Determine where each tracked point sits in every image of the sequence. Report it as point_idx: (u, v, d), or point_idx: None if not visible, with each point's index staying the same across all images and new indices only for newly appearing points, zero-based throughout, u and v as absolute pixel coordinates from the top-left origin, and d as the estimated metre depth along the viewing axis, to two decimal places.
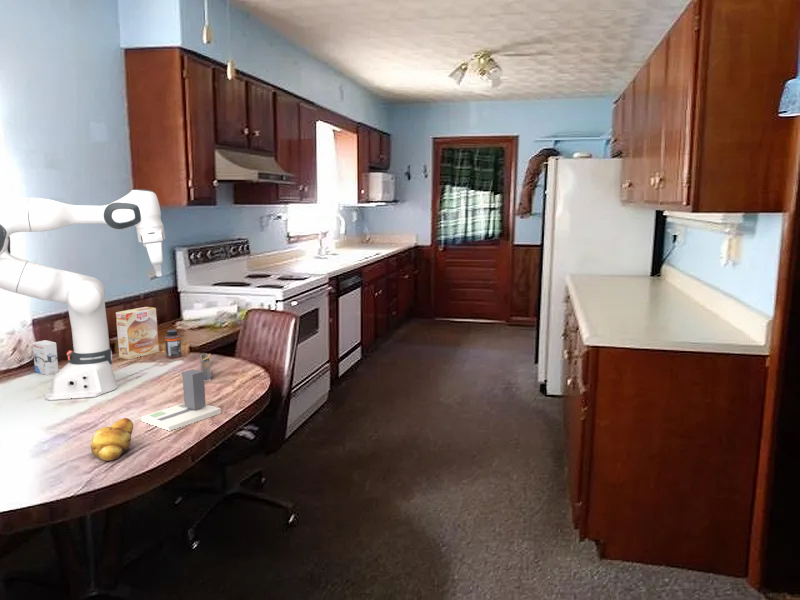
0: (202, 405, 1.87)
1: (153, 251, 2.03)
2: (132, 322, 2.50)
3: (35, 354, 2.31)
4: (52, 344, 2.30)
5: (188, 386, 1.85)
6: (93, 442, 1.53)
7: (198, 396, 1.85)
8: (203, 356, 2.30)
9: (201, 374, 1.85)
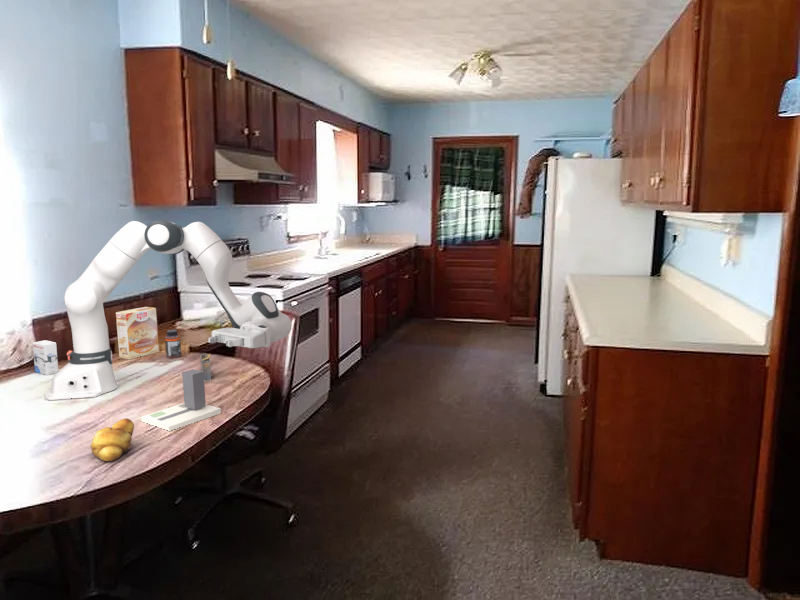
0: (202, 405, 1.87)
1: (261, 339, 1.94)
2: (132, 322, 2.50)
3: (35, 354, 2.31)
4: (52, 344, 2.30)
5: (188, 386, 1.85)
6: (93, 442, 1.53)
7: (198, 396, 1.85)
8: (203, 356, 2.30)
9: (201, 374, 1.85)
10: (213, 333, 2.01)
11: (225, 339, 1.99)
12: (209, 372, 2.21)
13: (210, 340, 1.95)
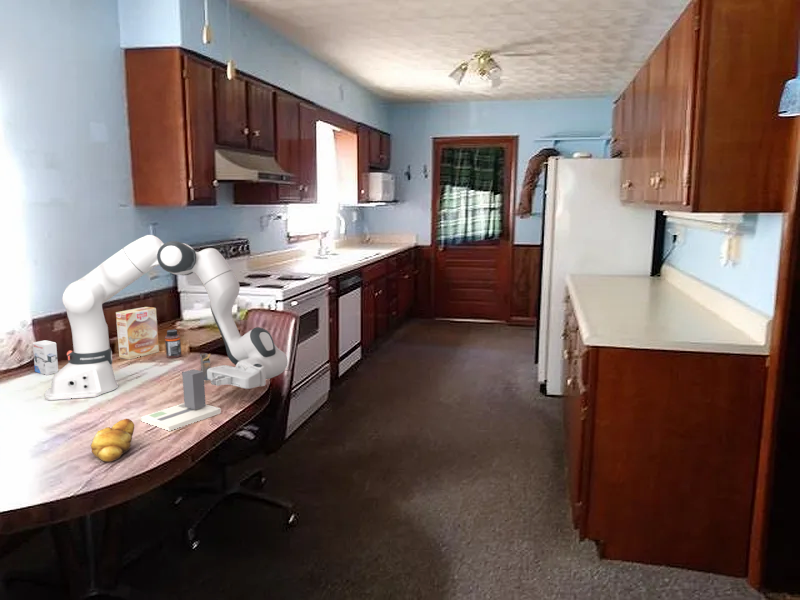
0: (202, 405, 1.87)
1: (256, 379, 1.94)
2: (132, 322, 2.50)
3: (35, 354, 2.31)
4: (52, 344, 2.30)
5: (188, 386, 1.85)
6: (93, 443, 1.53)
7: (198, 396, 1.85)
8: (203, 356, 2.30)
9: (201, 374, 1.85)
10: (208, 372, 2.01)
11: None
12: None
13: (212, 382, 1.93)
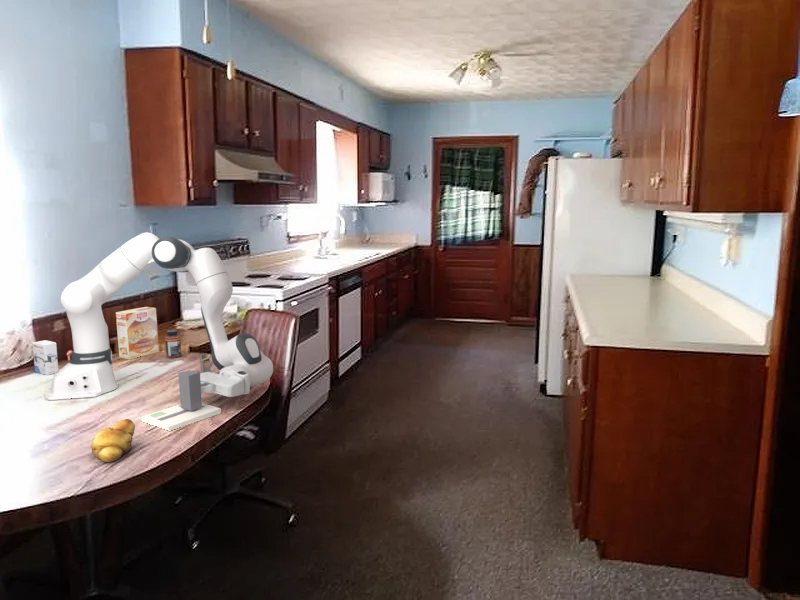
0: (198, 406, 1.85)
1: (239, 386, 1.89)
2: (132, 322, 2.50)
3: (35, 354, 2.31)
4: (52, 344, 2.30)
5: (184, 388, 1.84)
6: (93, 443, 1.53)
7: (195, 397, 1.84)
8: (203, 356, 2.30)
9: (198, 375, 1.84)
10: None
11: None
12: None
13: None
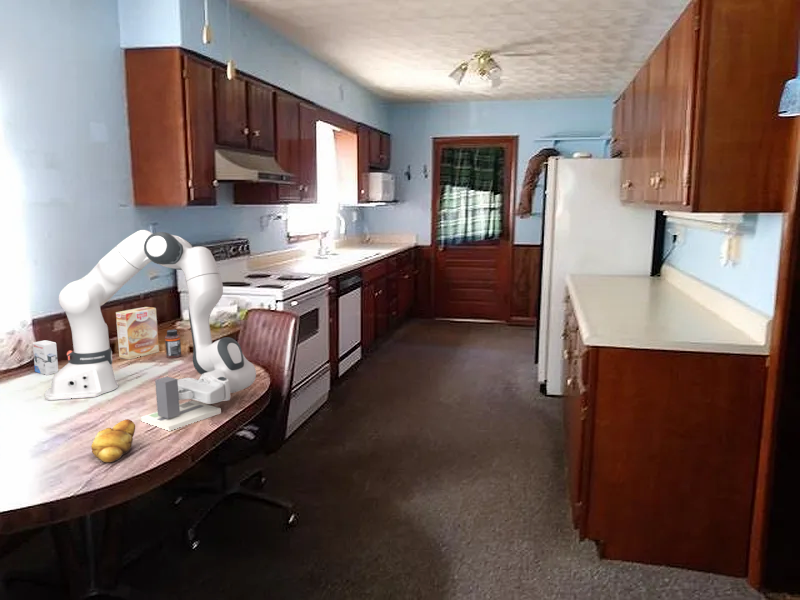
0: (176, 414, 1.79)
1: (219, 393, 1.82)
2: (132, 322, 2.50)
3: (35, 354, 2.31)
4: (52, 344, 2.30)
5: (161, 395, 1.77)
6: (93, 443, 1.53)
7: (172, 405, 1.78)
8: None
9: (175, 381, 1.78)
10: None
11: None
12: None
13: None
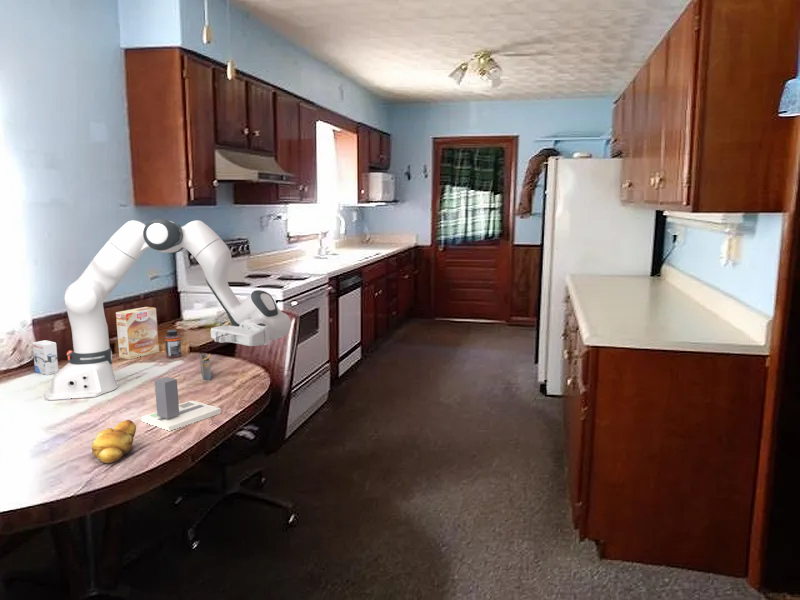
0: (175, 414, 1.79)
1: (260, 337, 1.94)
2: (132, 322, 2.50)
3: (35, 354, 2.31)
4: (52, 344, 2.30)
5: (160, 395, 1.77)
6: (93, 444, 1.52)
7: (171, 405, 1.78)
8: (203, 356, 2.30)
9: (175, 381, 1.78)
10: (212, 330, 2.00)
11: None
12: (209, 372, 2.21)
13: (216, 339, 1.92)
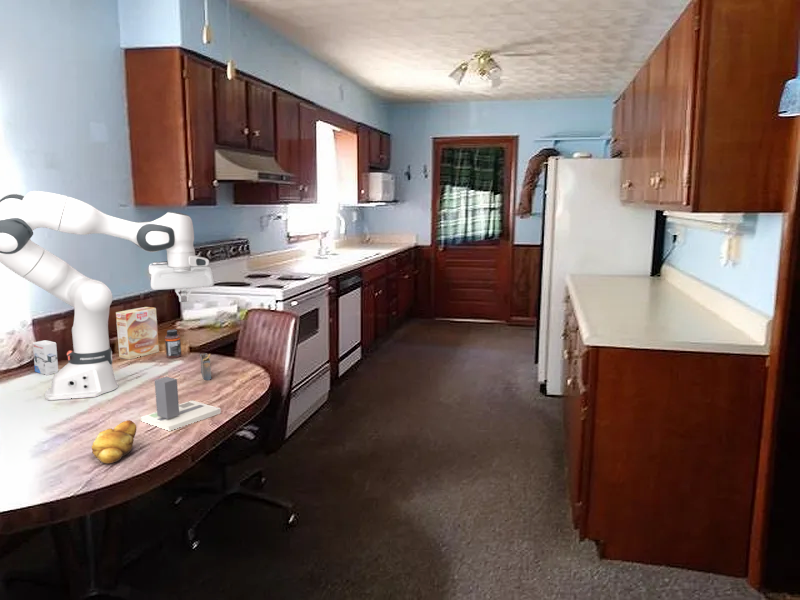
0: (175, 414, 1.79)
1: None
2: (132, 322, 2.50)
3: (35, 354, 2.31)
4: (52, 344, 2.30)
5: (160, 395, 1.77)
6: (94, 444, 1.52)
7: (171, 405, 1.78)
8: (203, 356, 2.30)
9: (175, 381, 1.78)
10: (156, 289, 2.01)
11: None
12: (209, 372, 2.21)
13: None
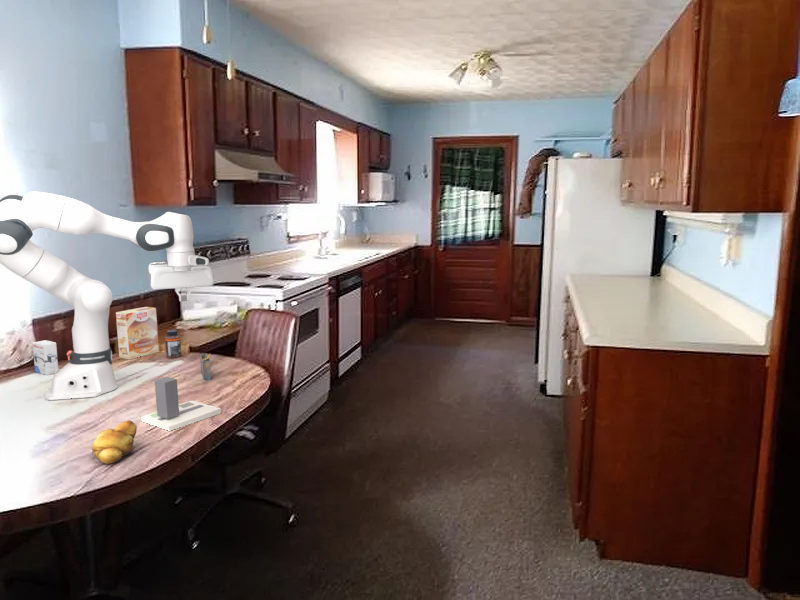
0: (175, 414, 1.79)
1: None
2: (132, 322, 2.50)
3: (35, 354, 2.31)
4: (52, 344, 2.30)
5: (160, 395, 1.77)
6: (94, 444, 1.52)
7: (171, 405, 1.78)
8: (203, 356, 2.30)
9: (175, 381, 1.78)
10: (156, 289, 2.01)
11: None
12: (209, 372, 2.21)
13: None
